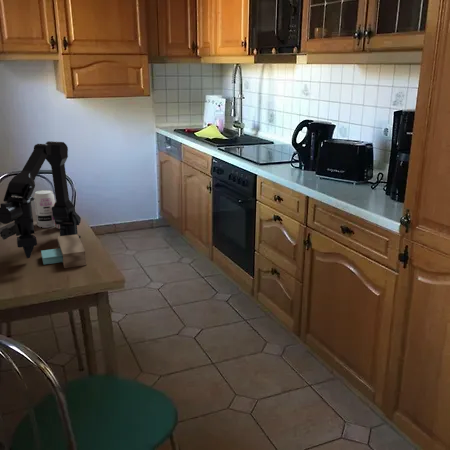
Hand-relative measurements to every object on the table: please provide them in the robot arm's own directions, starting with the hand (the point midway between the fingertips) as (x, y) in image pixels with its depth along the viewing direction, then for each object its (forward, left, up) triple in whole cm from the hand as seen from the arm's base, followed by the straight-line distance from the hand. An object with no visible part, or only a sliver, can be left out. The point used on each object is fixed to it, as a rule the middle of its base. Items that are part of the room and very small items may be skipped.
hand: (28, 257), depth 184 cm
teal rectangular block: (-8, +7, -2) cm, 11 cm away
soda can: (-36, -19, -2) cm, 40 cm away
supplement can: (-35, -28, -2) cm, 44 cm away
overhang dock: (-12, +9, -2) cm, 15 cm away
